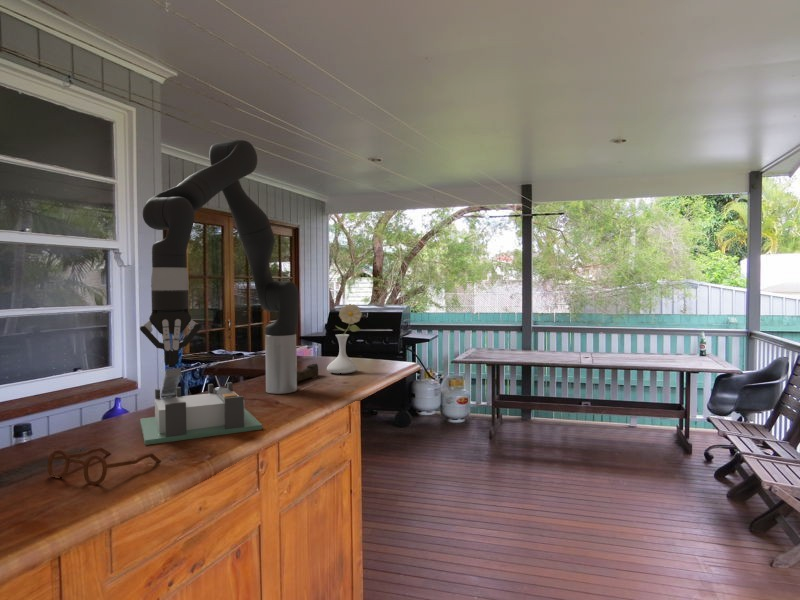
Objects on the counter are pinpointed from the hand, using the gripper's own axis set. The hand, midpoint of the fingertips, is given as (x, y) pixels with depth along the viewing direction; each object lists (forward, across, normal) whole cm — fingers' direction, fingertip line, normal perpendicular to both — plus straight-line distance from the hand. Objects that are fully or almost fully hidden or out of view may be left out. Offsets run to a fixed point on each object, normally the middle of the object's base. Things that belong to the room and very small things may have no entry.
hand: (171, 366), depth 119 cm
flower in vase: (+15, -62, -52) cm, 82 cm away
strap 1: (+5, 0, -3) cm, 6 cm away
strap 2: (+9, -12, -2) cm, 15 cm away
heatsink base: (+15, -6, -2) cm, 16 cm away
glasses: (+15, +13, +19) cm, 28 cm away
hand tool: (+15, -45, -46) cm, 66 cm away
